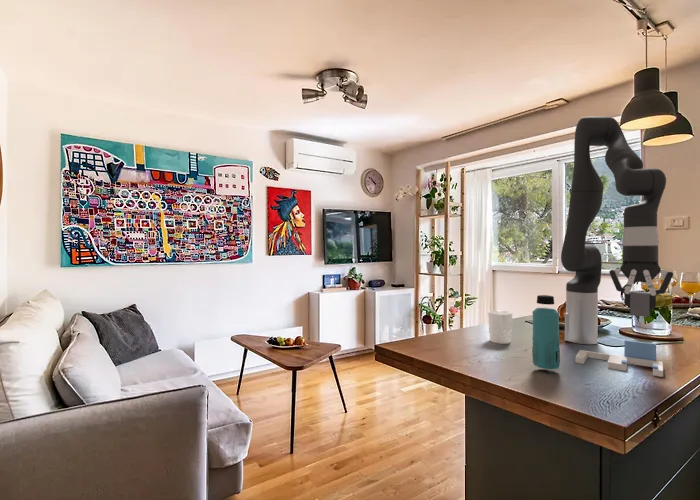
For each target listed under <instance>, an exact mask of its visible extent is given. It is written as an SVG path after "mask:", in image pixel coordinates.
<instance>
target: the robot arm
mask: <svg viewBox="0 0 700 500" xmlns="http://www.w3.org/2000/svg"><path fill="white" fill-rule="evenodd" d="M573 146H574V148H573V150H574V155H573V156H574V157H573V169H572V170H573V174H572V179H571V187H570V197H569V206H568V207H569V208H568V215H567V224H566V229H565V234H564V240H563V243H562V247H561V248H562V249H561V255H560V262H561V265H562V267H563V269H565V270H566V271H567V272H570V273H571V272H572V273H575V275H574V277H573V278H572V279H571V280H569V281H568V282H566V285H565V313H564V341H566V342H570V343H574V344H581V345H596V344H598V339H599V338H598V337H599V334H598V327H599V324H598V323H599V322H598V319H599V318H598V317H599V316H598V314H599V312H598V311H599V310H598V309H599V305H598V300H599V299H598V296H599V292H598V290H599V286H600V284H601V278H602V265H603V264H602V262H603V261H602V254H601V252H600V250H599V248H598V247H597V246H595V245H593V244H586V238H587V233H588V230H589V229H590V226H591V225H592V223H593V222H594V220H595V218H596V217H597V215H598V213H599V212H600V210H601V207H602V202H603V197H604V195H603V194H604V184H603V182H602V179H601V177H600V175H599V173H598V172H597V170H596V169H595V167H594V165H593V163H592V159H591V150H590V148H591V147H607V150H606V152H605V155H604V161H605V164H606V166H607V167H608V169H609V170H610V171H611V172H612V173H613V177H614V182H615V189H616V191H617V193H619V194H620V195H622V196H625V197H635V196H636V197H637V196H638V197H639V196H642V197H643V198H642V199H641V201H640V203H636V204H632V205H631V204H630V205H628V206H627V207H625V208H624V210H623V232H622V264H621V266H620V268H615V269H611V270H609V275H610V278H611V280H612V282H613V285H614V287H615V289H616V291H617V292H620V293H622V294H624V298H623V299H624V300H623V301H624V306H626V307H627V309H630V292H631V291H632V287H633V284H634V283H639V282H640V283H644V284H646V285H647V288H648V290H649V291H648V292H650V308H649V310H650V311H653V309H655V308H656V306H657V296H658V295H664V294H665V293H666V292H667V289H668V287H669V285H670V283H671V281H672V279H673V277H674V273H673V272H672V271H668V270H665V269H661V267H660V265H659V242H660V241H659V240H660V239H659V231H658V210H659V208H660V207H659V206H660V203H661V200H662V196H663V194H664V191H665V189H666V185H667V177H666V174H665V173H664V172H663V171H662V170H661V169H659V168H644V162H643V160H642V159H641V158H640V156H638V154H637V153H636V152H635V150H633V149H632V148H631V147H630V145H629V143H628V141H627V139H626V137H625V134H624V132H623V130H622V128H621V126H620V124H619V122H618V121H617V120H616V119H615V118H614V117H612V116H583V117H581V118H580V119H579V120H578V121H577V124H576V128H575V131H574V145H573ZM621 272H622V274H623V275H624V277H626V279H627V282H626V286H625V287H624V286H622V284H621V282H620V280H619V277H620V275H621ZM660 274H661V278H662V279H663V280H662V283H661V285H660V287H659V288H657V289H656V288H655V285H654V284H655V283H654V281H653V280H654V279H655V278H656V277H657V276H658V275H660Z"/></svg>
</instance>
